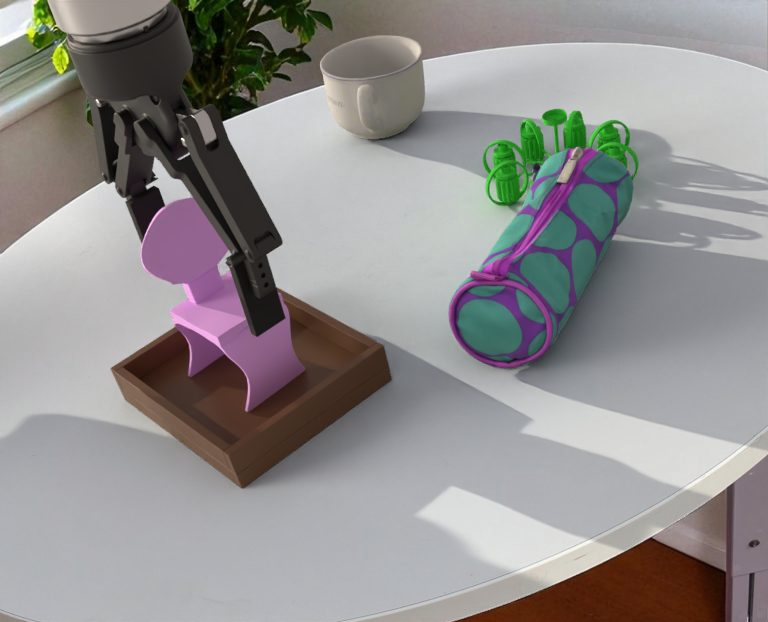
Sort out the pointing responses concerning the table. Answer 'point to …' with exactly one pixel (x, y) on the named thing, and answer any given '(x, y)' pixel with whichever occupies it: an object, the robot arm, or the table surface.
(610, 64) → the table surface
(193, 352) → the toy chair
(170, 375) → the brown wooden tray
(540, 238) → the pencil case
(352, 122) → the teacup
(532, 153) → the chandelier
